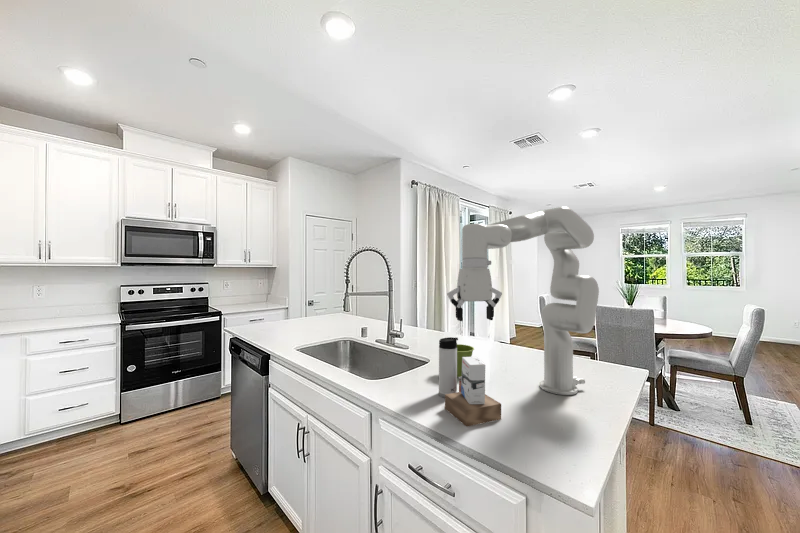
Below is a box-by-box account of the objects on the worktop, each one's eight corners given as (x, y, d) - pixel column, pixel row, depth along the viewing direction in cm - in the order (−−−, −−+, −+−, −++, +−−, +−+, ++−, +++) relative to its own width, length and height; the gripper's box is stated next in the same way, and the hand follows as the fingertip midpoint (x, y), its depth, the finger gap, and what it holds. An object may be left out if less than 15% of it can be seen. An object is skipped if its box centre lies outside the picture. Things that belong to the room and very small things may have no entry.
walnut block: (476, 404, 103) (476, 389, 104) (501, 420, 92) (501, 403, 92) (444, 410, 99) (444, 394, 99) (466, 428, 88) (466, 410, 88)
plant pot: (440, 371, 135) (440, 345, 135) (465, 368, 139) (465, 343, 139) (453, 380, 124) (453, 352, 124) (479, 377, 128) (479, 350, 128)
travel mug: (457, 399, 106) (457, 340, 106) (438, 397, 108) (438, 339, 108) (457, 392, 112) (458, 336, 113) (439, 390, 114) (439, 335, 114)
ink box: (460, 393, 100) (461, 356, 100) (475, 392, 100) (476, 355, 100) (468, 404, 91) (469, 364, 91) (485, 404, 92) (486, 364, 92)
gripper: (495, 264, 102) (495, 317, 102) (443, 264, 99) (444, 318, 99) (506, 264, 94) (507, 321, 94) (451, 264, 92) (451, 322, 92)
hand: (474, 319), depth 97 cm, fingers open, 9 cm apart
